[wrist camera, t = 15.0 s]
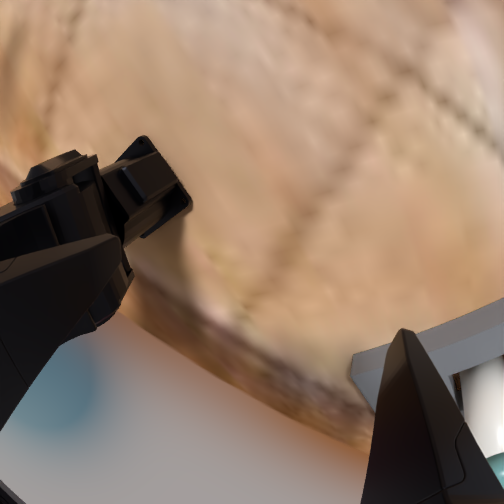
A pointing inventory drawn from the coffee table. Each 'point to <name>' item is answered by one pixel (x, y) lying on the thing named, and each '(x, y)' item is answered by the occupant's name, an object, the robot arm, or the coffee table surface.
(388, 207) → the coffee table surface
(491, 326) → the socket board
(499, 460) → the peg
